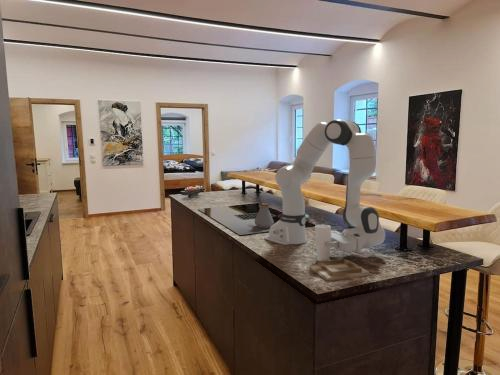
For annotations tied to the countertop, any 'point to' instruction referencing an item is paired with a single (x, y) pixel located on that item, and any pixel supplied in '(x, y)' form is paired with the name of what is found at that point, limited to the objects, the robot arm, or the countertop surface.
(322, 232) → the drinking glass
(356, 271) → the holder board
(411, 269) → the countertop surface
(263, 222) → the coffee pot
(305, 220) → the donut
